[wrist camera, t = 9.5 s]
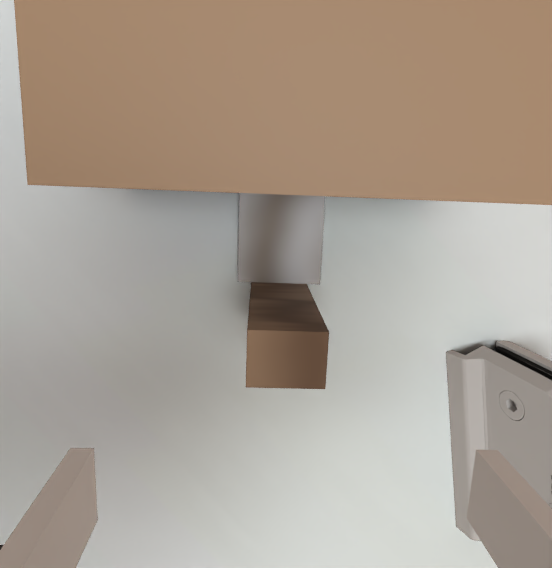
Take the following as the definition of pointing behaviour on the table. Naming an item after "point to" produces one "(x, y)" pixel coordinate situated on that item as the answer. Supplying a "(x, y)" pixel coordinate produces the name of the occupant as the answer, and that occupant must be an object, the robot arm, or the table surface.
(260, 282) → the wooden block bookend
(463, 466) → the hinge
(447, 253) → the table surface
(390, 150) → the low cabinet
